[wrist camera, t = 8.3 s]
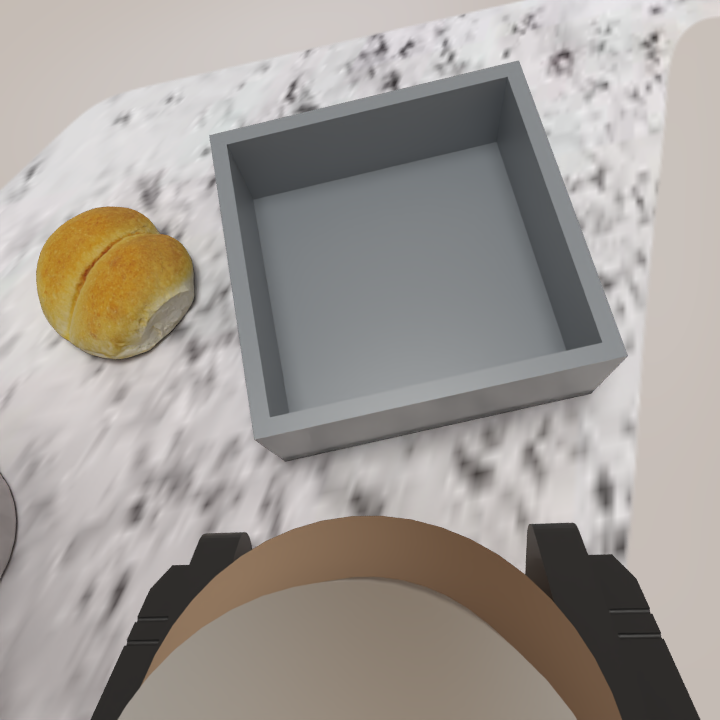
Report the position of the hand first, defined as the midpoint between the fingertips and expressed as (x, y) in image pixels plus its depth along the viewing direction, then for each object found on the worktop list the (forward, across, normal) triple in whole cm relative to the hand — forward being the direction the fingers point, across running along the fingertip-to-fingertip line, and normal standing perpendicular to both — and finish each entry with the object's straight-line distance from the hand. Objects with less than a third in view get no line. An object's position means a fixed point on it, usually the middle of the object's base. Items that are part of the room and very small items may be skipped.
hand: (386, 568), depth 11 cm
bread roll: (+26, +16, +3) cm, 30 cm away
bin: (+24, 0, +4) cm, 25 cm away
